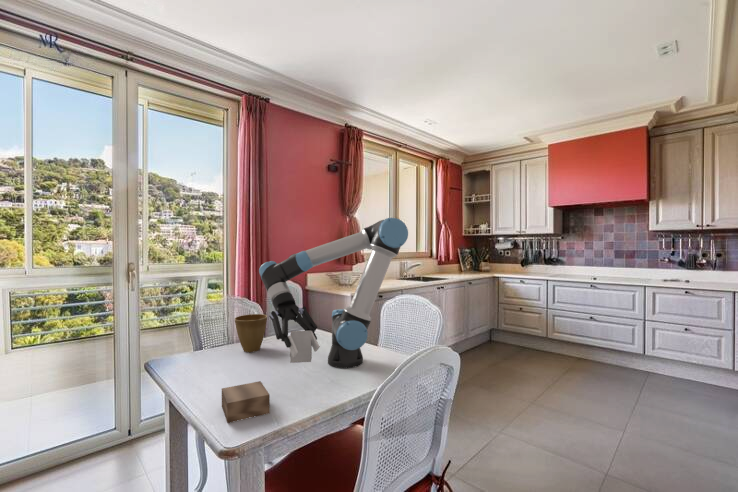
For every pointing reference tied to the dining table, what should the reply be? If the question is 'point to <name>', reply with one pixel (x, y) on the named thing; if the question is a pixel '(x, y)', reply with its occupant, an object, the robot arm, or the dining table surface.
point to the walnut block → (245, 401)
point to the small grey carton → (302, 346)
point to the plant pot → (251, 331)
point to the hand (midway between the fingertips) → (306, 351)
